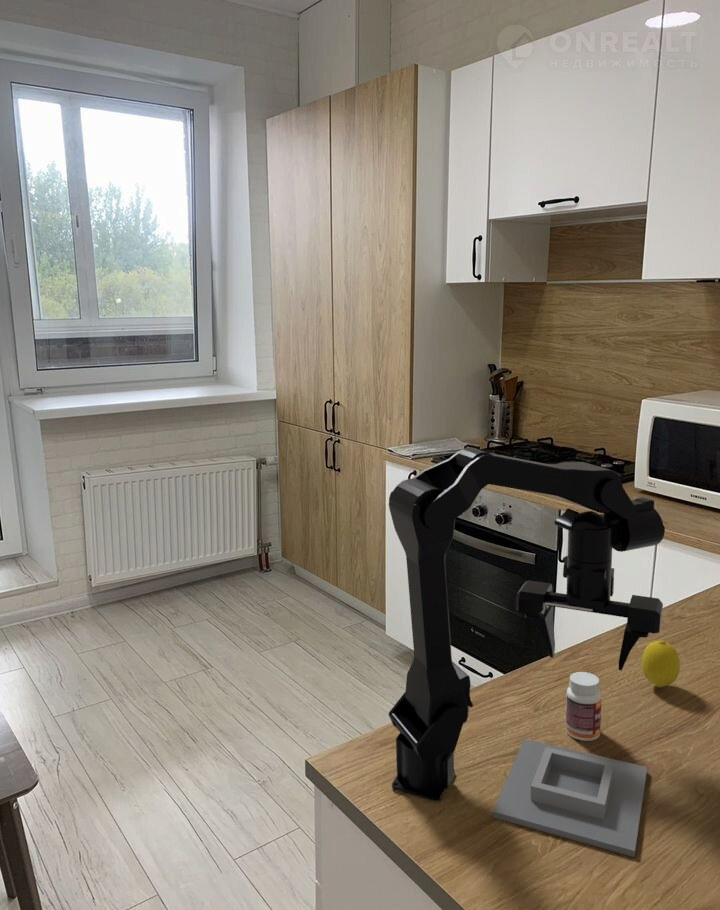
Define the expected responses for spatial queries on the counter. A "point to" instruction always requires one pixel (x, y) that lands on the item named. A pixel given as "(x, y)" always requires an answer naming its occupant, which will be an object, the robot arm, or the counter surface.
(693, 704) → the counter surface
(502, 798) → the bottle stand
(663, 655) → the lemon
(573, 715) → the pill bottle
